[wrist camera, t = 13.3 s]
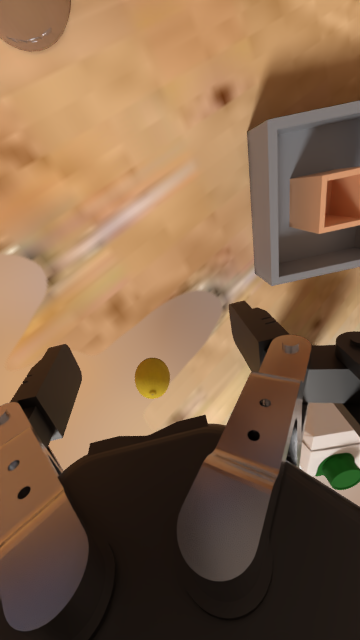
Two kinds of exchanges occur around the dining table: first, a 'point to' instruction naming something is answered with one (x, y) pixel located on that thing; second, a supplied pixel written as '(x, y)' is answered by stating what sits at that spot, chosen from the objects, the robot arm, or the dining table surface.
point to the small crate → (325, 200)
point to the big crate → (274, 191)
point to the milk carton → (330, 447)
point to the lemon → (152, 378)
